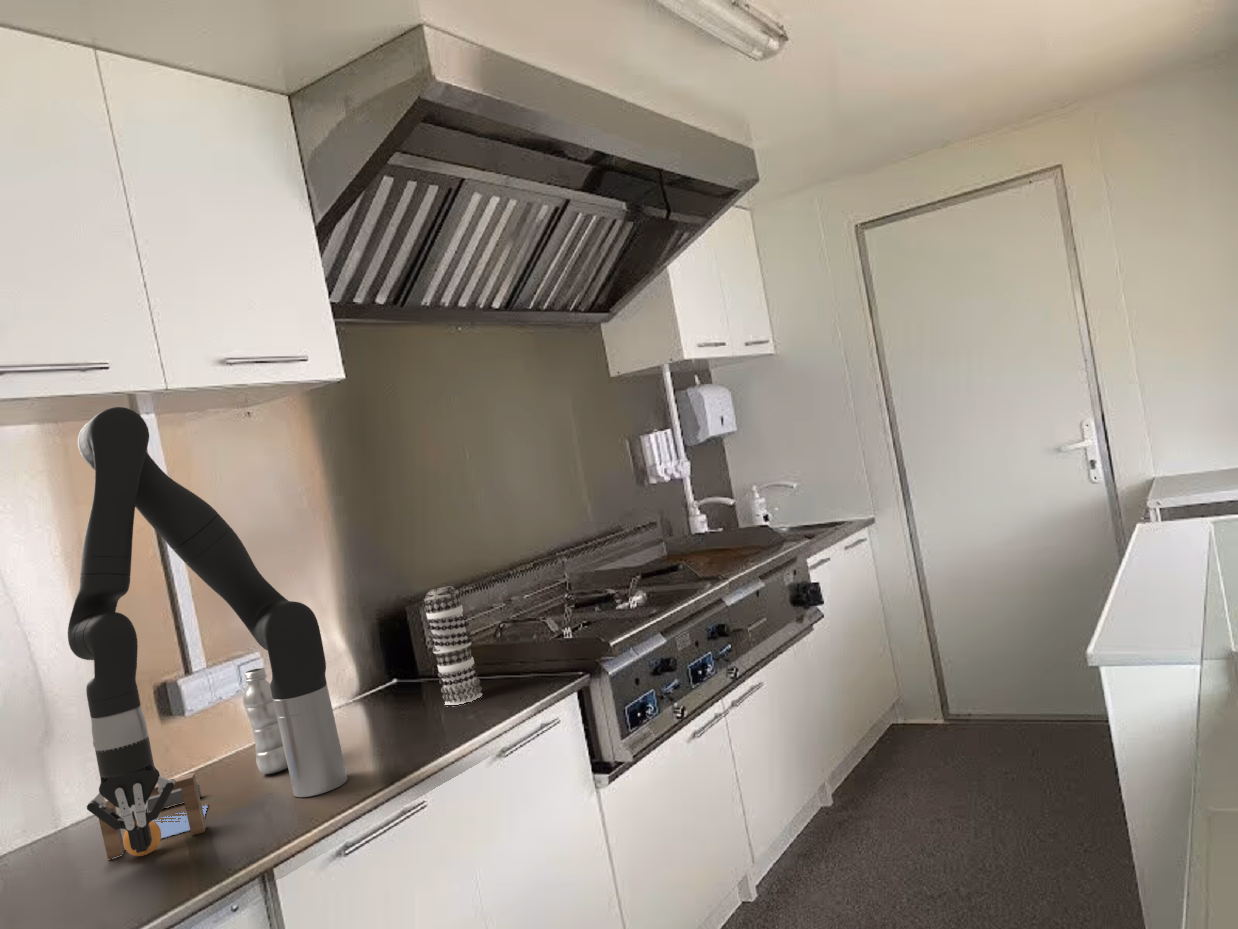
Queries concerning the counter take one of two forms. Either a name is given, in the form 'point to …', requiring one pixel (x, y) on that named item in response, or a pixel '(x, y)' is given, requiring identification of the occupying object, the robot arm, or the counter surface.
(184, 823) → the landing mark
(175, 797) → the strip
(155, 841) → the ball
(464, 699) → the decorative candle
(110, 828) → the bridge
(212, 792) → the counter surface
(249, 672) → the plastic bottle
